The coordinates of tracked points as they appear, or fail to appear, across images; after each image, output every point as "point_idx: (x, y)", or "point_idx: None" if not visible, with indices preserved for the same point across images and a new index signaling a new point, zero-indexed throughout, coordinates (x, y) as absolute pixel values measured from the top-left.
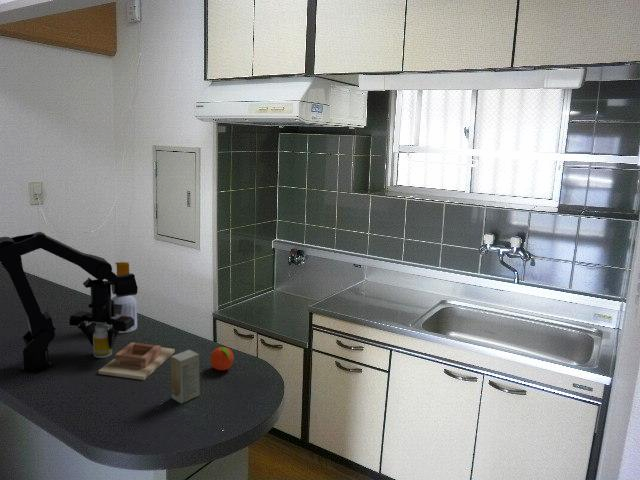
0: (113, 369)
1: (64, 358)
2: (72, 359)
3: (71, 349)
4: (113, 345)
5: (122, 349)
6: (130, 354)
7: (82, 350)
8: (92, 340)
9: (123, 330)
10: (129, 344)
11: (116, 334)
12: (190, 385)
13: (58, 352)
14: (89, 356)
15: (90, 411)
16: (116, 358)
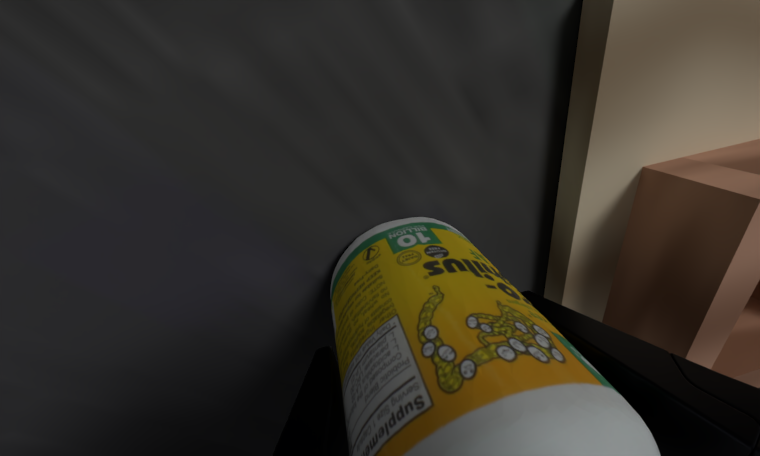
0: None
1: (204, 438)
2: (268, 418)
3: (53, 347)
4: (547, 301)
5: (688, 356)
6: (755, 372)
7: (170, 310)
8: (344, 449)
9: None
10: (738, 258)
11: (740, 411)
12: None
13: (37, 425)
14: (332, 343)
15: None
16: None
